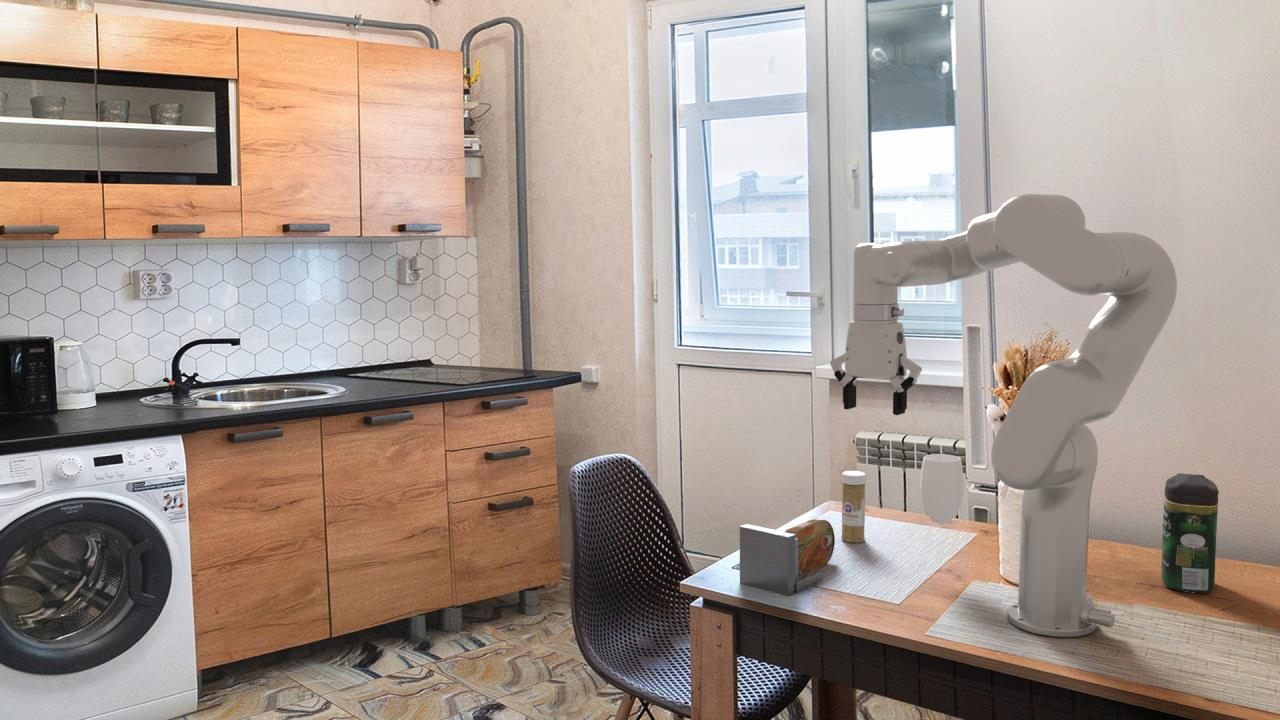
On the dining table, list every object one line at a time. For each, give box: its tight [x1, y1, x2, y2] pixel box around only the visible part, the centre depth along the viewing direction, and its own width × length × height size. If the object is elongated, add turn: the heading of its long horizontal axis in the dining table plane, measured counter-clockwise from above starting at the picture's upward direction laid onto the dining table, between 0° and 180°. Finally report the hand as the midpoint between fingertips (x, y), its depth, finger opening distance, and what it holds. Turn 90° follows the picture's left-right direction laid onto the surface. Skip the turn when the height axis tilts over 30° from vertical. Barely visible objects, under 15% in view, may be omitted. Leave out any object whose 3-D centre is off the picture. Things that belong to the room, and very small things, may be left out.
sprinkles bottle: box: [841, 470, 867, 544], centre depth 198 cm, size 5×5×13 cm
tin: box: [784, 518, 836, 578], centre depth 181 cm, size 15×3×8 cm, turn 137°
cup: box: [919, 453, 965, 525], centre depth 177 cm, size 7×7×21 cm
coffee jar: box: [1161, 473, 1220, 594], centre depth 169 cm, size 10×8×19 cm
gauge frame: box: [739, 523, 824, 597], centre depth 175 cm, size 11×10×10 cm
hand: (874, 411), depth 179 cm, fingers open, 9 cm apart
